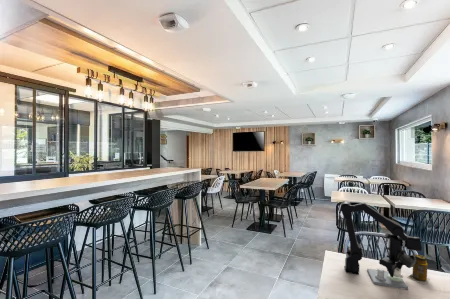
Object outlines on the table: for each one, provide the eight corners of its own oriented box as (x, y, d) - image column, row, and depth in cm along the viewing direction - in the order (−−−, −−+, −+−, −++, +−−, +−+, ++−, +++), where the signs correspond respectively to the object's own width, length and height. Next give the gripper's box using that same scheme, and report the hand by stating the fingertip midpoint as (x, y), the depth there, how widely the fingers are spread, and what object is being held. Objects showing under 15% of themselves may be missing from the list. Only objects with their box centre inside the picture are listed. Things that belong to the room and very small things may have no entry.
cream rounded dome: (384, 272, 126) (384, 266, 126) (389, 269, 129) (390, 263, 129) (399, 279, 120) (400, 273, 120) (405, 276, 122) (405, 270, 122)
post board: (373, 283, 121) (373, 273, 121) (366, 270, 134) (367, 261, 133) (408, 289, 117) (408, 278, 116) (397, 275, 129) (398, 265, 129)
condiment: (429, 279, 125) (430, 257, 125) (424, 284, 121) (425, 262, 120) (413, 272, 131) (414, 252, 131) (407, 277, 127) (408, 256, 126)
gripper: (403, 257, 112) (402, 289, 113) (422, 249, 121) (421, 278, 121) (379, 248, 122) (378, 277, 123) (398, 241, 131) (397, 268, 131)
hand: (394, 275), depth 124 cm, fingers closed on cream rounded dome, 5 cm apart
